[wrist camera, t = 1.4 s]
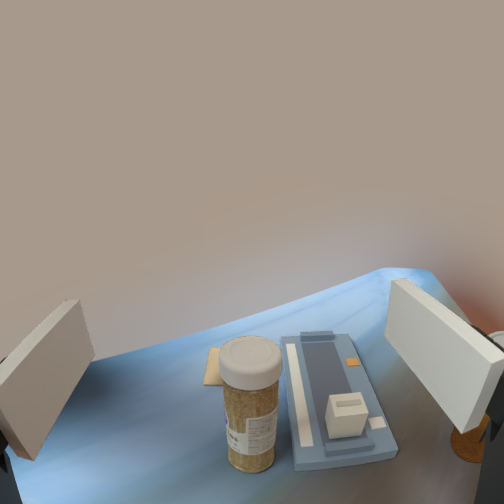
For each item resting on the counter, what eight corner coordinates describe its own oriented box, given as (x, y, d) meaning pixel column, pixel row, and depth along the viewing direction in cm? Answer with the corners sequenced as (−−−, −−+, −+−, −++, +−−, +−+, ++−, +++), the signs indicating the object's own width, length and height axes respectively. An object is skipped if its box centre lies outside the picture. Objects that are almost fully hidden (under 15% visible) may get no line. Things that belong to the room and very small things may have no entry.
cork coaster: (203, 385, 36) (203, 383, 36) (210, 349, 44) (210, 347, 44) (268, 386, 36) (268, 384, 36) (266, 349, 44) (266, 347, 44)
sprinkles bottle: (221, 447, 27) (210, 340, 23) (264, 435, 29) (266, 328, 25) (237, 481, 23) (229, 376, 19) (283, 466, 25) (294, 360, 21)
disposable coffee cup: (518, 460, 18) (573, 374, 14) (450, 483, 19) (508, 395, 15) (489, 407, 27) (527, 325, 23) (427, 419, 28) (462, 332, 24)
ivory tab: (329, 439, 26) (335, 415, 25) (324, 417, 29) (329, 393, 28) (361, 435, 26) (369, 411, 25) (354, 414, 29) (361, 390, 28)
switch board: (294, 471, 24) (297, 457, 23) (280, 345, 45) (280, 330, 44) (394, 457, 24) (401, 443, 23) (346, 342, 45) (348, 328, 44)
